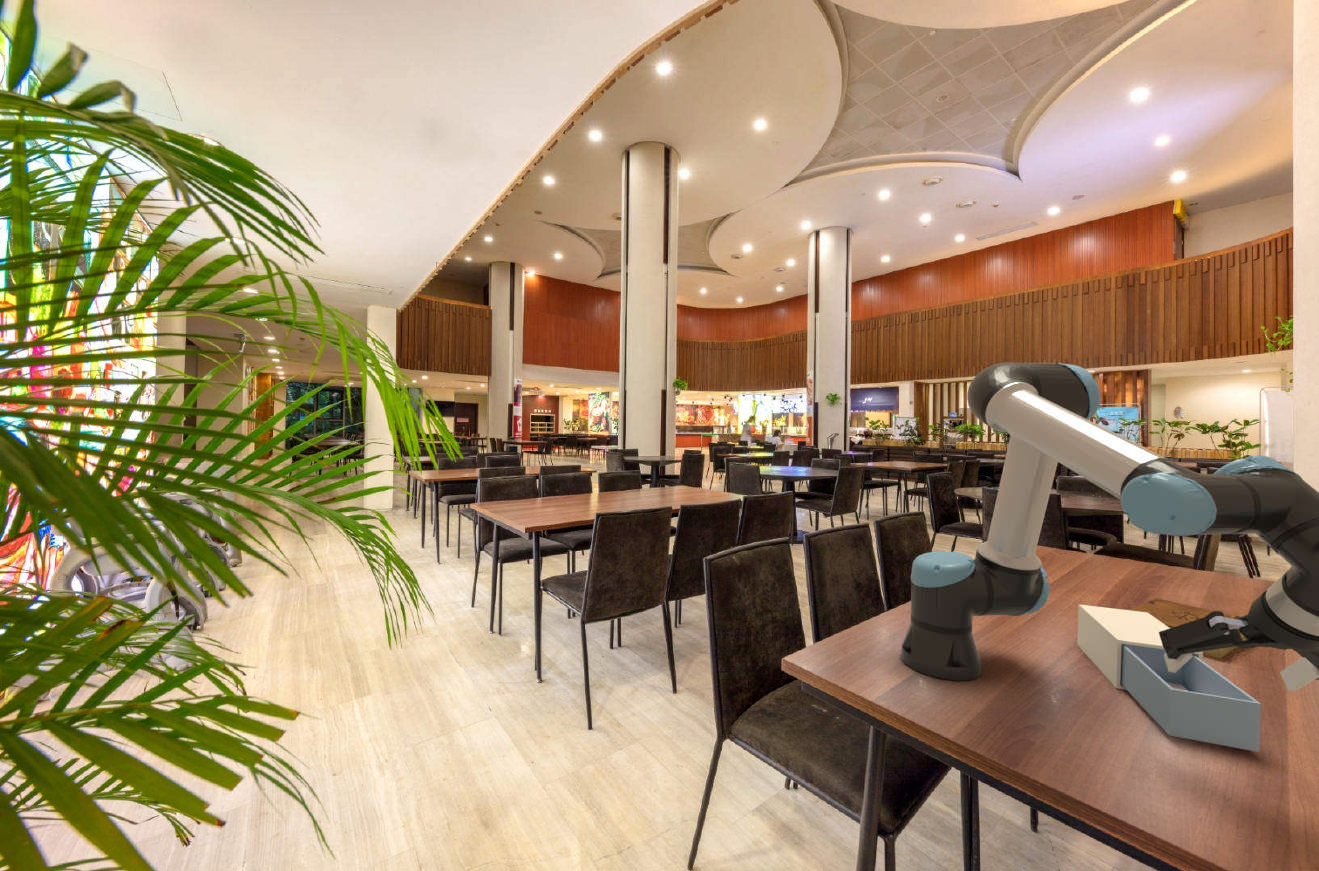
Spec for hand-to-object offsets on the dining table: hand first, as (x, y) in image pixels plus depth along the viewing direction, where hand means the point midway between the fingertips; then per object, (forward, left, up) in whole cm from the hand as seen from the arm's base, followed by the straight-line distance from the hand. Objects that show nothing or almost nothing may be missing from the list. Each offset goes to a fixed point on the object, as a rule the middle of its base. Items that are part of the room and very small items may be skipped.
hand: (1226, 672), depth 81 cm
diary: (+63, +7, -14) cm, 65 cm away
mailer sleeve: (+29, +13, -14) cm, 34 cm away
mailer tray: (+12, +6, -14) cm, 19 cm away
